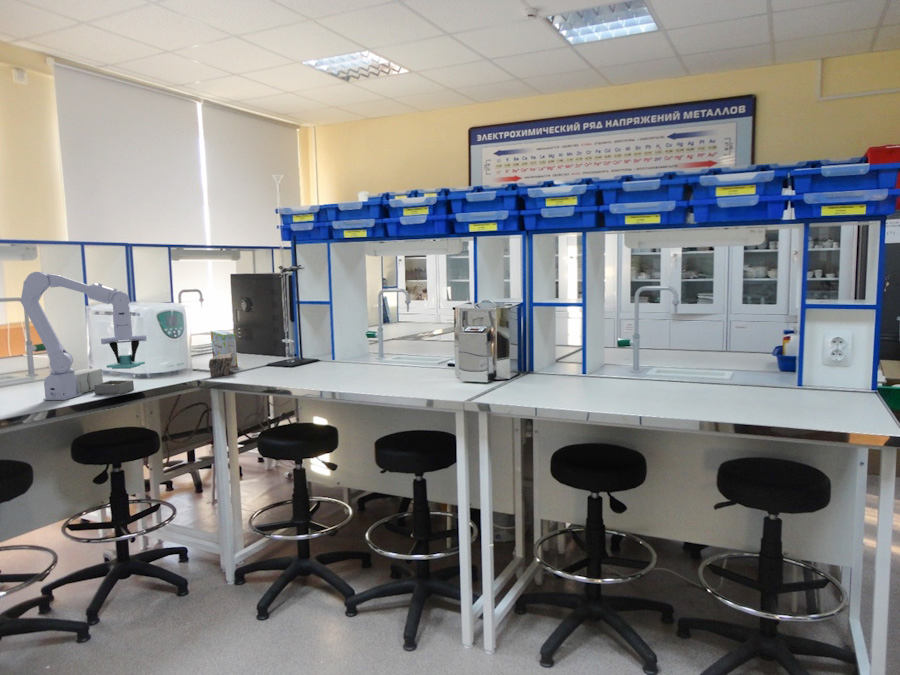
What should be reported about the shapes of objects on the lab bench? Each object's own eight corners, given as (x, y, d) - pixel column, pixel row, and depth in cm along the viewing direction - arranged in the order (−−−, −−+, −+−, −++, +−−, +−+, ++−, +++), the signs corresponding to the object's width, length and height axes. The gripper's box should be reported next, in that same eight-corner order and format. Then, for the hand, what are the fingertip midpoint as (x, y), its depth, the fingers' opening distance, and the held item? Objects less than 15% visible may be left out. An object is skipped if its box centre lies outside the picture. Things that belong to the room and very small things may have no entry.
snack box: (211, 362, 297) (209, 330, 296) (223, 361, 301) (222, 329, 299) (225, 367, 280) (223, 334, 279) (238, 366, 284) (236, 333, 282)
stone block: (232, 376, 259) (231, 357, 258) (209, 376, 258) (208, 358, 257) (238, 370, 273) (237, 352, 272) (217, 371, 272) (216, 353, 271)
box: (119, 394, 224) (118, 385, 224) (95, 394, 225) (94, 385, 224) (133, 389, 233) (133, 380, 233) (110, 389, 234) (110, 380, 233)
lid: (131, 369, 225) (130, 356, 224) (106, 369, 225) (105, 357, 225) (144, 365, 234) (144, 353, 233) (121, 365, 234) (120, 353, 234)
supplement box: (104, 387, 238) (79, 394, 226) (87, 387, 240) (61, 394, 227) (102, 368, 237) (77, 374, 225) (85, 368, 239) (59, 374, 226)
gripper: (144, 322, 235) (147, 358, 236) (99, 325, 228) (103, 363, 229) (145, 324, 229) (148, 361, 230) (99, 327, 222) (103, 365, 223)
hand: (126, 362), depth 229 cm, fingers closed on lid, 4 cm apart
